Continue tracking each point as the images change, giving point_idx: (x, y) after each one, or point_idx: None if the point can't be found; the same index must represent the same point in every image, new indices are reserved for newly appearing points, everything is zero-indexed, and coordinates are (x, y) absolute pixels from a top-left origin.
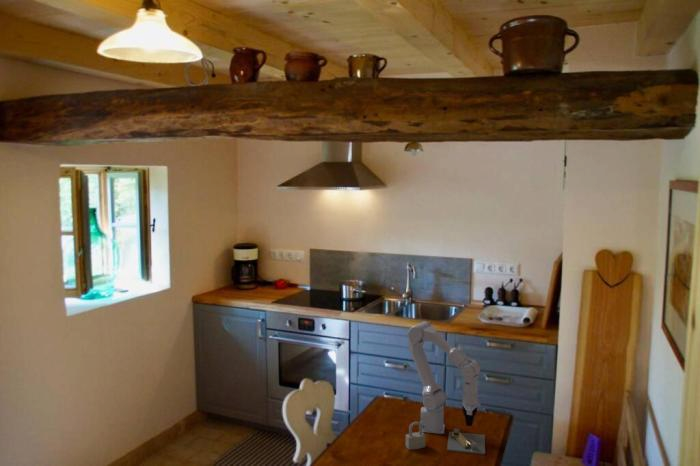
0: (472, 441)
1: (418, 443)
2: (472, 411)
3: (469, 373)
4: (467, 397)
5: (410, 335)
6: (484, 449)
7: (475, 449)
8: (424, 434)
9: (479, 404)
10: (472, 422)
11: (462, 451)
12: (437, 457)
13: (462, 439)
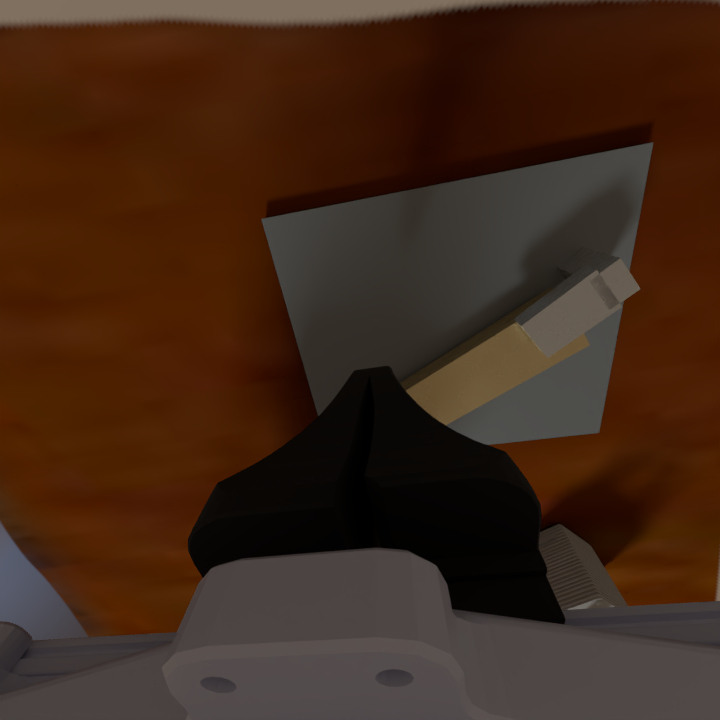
0: (579, 295)
1: (606, 572)
2: (536, 548)
3: None
4: None
5: None
6: (568, 164)
7: (584, 248)
8: (598, 603)
9: (433, 673)
10: (398, 382)
11: (612, 338)
12: (688, 455)
13: (482, 376)
